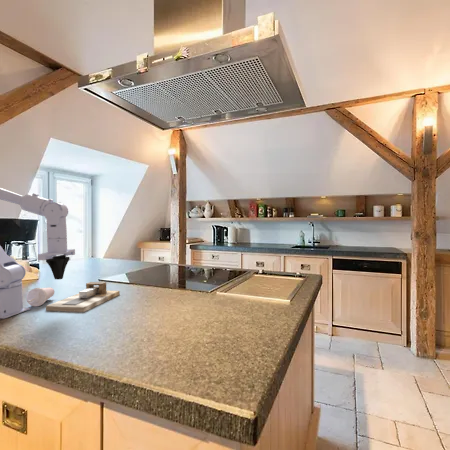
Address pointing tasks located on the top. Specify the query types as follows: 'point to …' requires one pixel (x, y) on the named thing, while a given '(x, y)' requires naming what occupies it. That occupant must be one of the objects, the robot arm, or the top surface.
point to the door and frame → (84, 300)
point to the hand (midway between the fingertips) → (58, 279)
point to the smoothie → (39, 296)
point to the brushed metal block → (89, 292)
